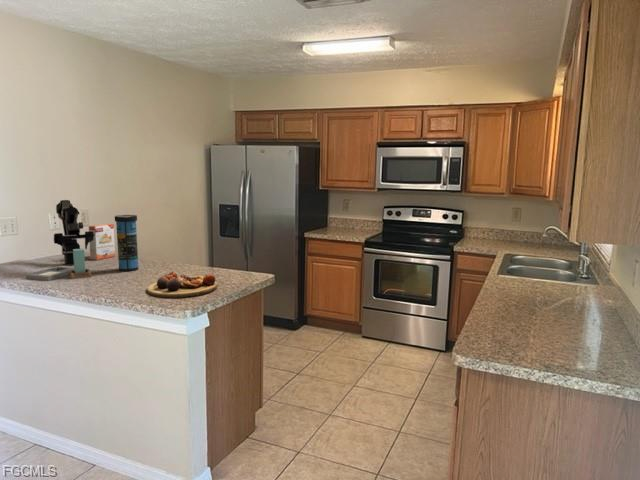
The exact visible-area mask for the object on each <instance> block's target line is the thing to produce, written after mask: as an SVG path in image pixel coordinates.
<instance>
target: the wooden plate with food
mask: <svg viewBox="0 0 640 480" xmlns="http://www.w3.org/2000/svg"><path fill="white" fill-rule="evenodd" d="M217 288H218V282H217V281H216V277H215V276H214V274H210V273H208V274H206V275H205V276H203V275H195V276H189V275H185V274H180V276H178V275H177V272H175V271H171V272H169V273H168V274H164V275H162V276H160V277H159V278H158V279H157V281H156V282H154V283H151V284H150V285H148V287H147V288H146V292H147V294H149V296H150V295H151V296H153V297H157V298H167V299H168V298H169V299H170V298H172V299H173V298H175V299H176V298H177V297H179V298H189V297H188V296H190V297H195V295H196V296H201V295H204V294H208V293H211V292H213V291H215V290H216V289H217Z"/></svg>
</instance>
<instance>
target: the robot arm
mask: <svg viewBox="0 0 640 480" xmlns="http://www.w3.org/2000/svg"><path fill="white" fill-rule="evenodd" d="M55 210H56V211H55V212H56V214H57V217H58V218H59V219H60V220H61V222H62V229H63V233H62V232H57V233H54V234H53V243H54V245H56V244H57V245H59V246H60V247H61V254H62V256H63V258H64V263H62V265H64V266H65V265H66V266H74V258H73V249H81V245H80V244H79V242H78V240H81V239H84V248H85V250H87V249H88V246H89V244H90V242H91V241H93V238H94V232H92V231H89V230H88V231H84V234H81V229H84V222H83V221H82V222H80V221H79V222H78V219H79V218H78V216H79V215H80V211H79V209H78V208H76V207H74V206H73V204H72V203H71V200H70V199H63V200H60V201H59V202H58V203H57V204H56V205H55Z"/></svg>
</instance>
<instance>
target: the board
mask: <svg viewBox="0 0 640 480" xmlns="http://www.w3.org/2000/svg"><path fill="white" fill-rule="evenodd" d="M72 270H74V267H67V266H54V267H50V268H46V269H43V270H39V271H35V272H32V273H27V274H25V279H26V280H35V281H36V280H38V281H54V280H56V279H60V278H62V277H63V278H64V277H66V276H69V271H72Z"/></svg>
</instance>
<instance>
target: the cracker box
mask: <svg viewBox="0 0 640 480" xmlns="http://www.w3.org/2000/svg"><path fill="white" fill-rule="evenodd" d="M114 227H115V225H114V223H102V224H93V225H88V231H92V232H94V238H93V241H91V242H89V258H90V260H93V261H100V260H105V259H110V258H114V257H116V250H115V247H116V246H115V228H114Z"/></svg>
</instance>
